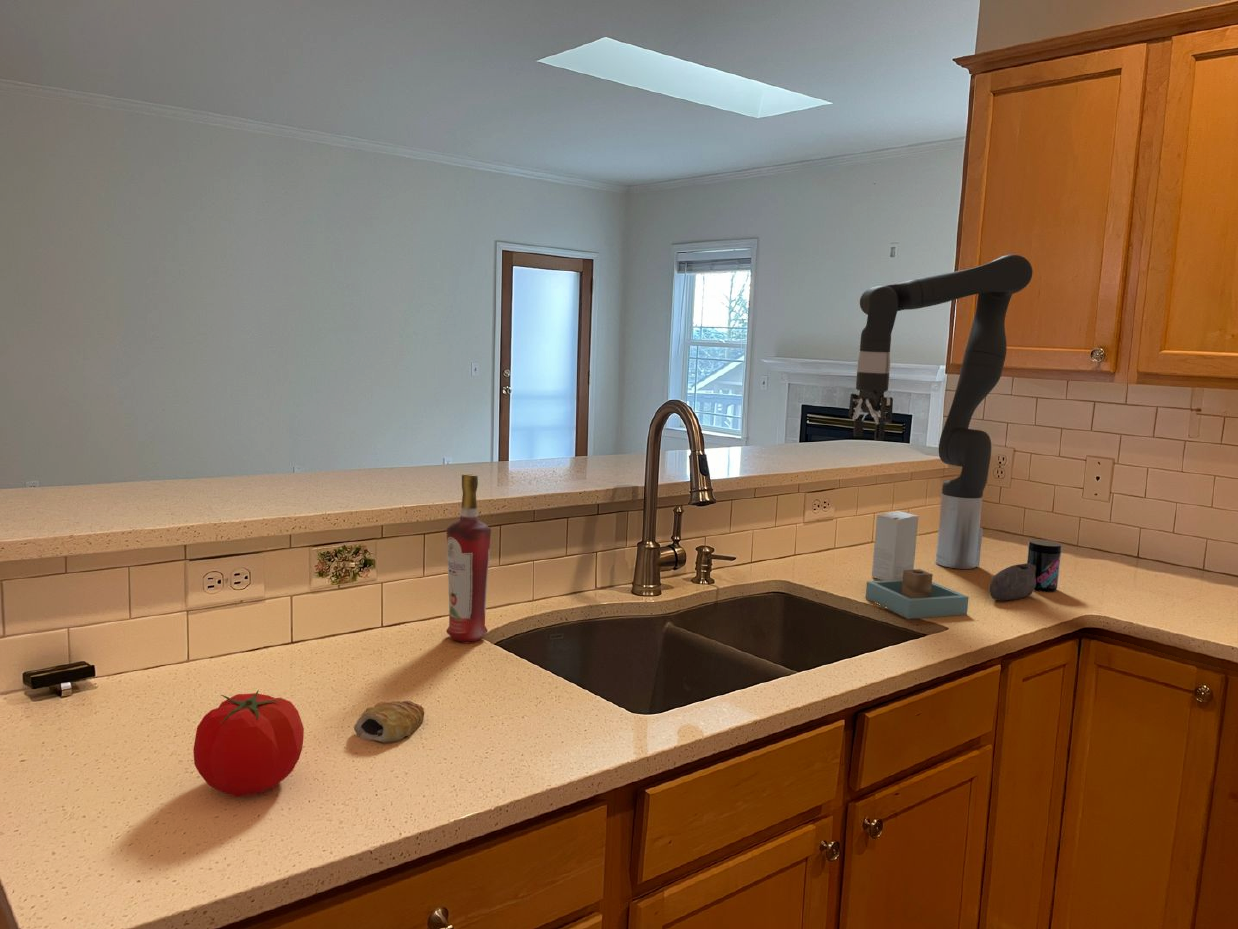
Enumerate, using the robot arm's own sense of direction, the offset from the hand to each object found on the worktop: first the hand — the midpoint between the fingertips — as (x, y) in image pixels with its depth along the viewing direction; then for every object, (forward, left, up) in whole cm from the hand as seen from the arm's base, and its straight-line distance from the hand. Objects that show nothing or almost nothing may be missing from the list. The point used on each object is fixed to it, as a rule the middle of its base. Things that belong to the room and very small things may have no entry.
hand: (868, 438), depth 220 cm
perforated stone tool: (-13, +37, -30) cm, 50 cm away
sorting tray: (+12, +38, -30) cm, 50 cm away
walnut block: (+12, +38, -29) cm, 50 cm away
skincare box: (+3, +18, -30) cm, 35 cm away
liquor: (+103, +38, -30) cm, 114 cm away
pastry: (+119, +72, -30) cm, 142 cm away
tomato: (+135, +82, -30) cm, 161 cm away
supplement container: (-26, +32, -30) cm, 51 cm away
